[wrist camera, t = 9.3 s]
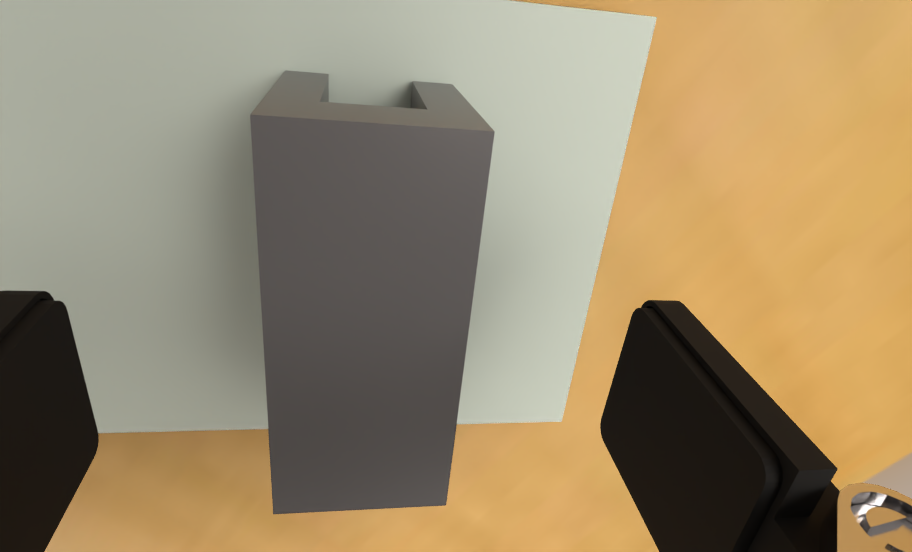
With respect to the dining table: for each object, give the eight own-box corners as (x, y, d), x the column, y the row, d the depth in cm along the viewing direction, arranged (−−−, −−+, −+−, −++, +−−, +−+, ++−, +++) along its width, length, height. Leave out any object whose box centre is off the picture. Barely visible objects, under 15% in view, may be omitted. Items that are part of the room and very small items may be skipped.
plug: (285, 70, 13) (250, 114, 9) (452, 84, 14) (494, 131, 10) (294, 379, 17) (273, 513, 13) (424, 378, 18) (446, 505, 14)
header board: (-632, -128, 11) (-1101, -179, 7) (631, 13, 16) (710, 24, 12) (-301, 408, 17) (-476, 522, 13) (549, 394, 21) (586, 475, 18)
